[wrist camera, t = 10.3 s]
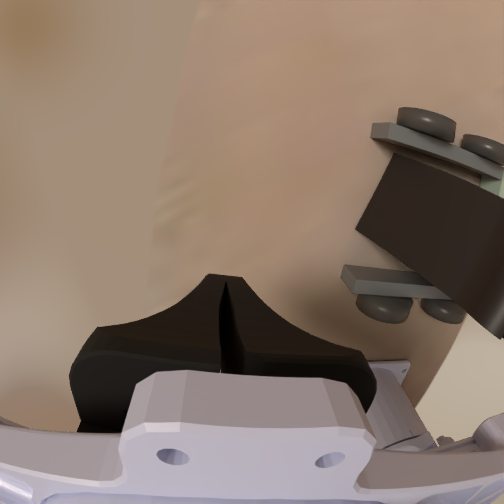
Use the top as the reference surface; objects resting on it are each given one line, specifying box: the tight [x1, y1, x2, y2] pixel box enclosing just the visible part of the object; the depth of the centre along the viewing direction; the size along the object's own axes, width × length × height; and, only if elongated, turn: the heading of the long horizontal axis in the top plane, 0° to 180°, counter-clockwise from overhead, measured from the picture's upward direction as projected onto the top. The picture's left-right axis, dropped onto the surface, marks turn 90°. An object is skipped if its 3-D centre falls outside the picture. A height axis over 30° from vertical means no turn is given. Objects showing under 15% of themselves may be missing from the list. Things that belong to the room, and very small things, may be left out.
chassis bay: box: [341, 107, 504, 324], centre depth 19 cm, size 14×12×4 cm
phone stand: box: [355, 153, 504, 339], centre depth 16 cm, size 9×6×12 cm, turn 64°
